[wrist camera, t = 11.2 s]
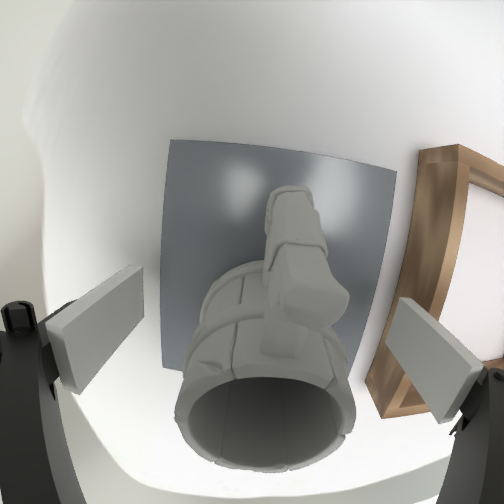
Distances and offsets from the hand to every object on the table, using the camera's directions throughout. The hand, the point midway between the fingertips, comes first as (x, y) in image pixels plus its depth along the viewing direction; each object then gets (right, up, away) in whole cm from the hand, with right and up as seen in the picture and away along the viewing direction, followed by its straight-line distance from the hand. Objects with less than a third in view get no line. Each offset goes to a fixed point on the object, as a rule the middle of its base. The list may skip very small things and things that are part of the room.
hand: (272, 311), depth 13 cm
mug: (0, +1, +4) cm, 4 cm away
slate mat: (0, +1, +5) cm, 5 cm away
